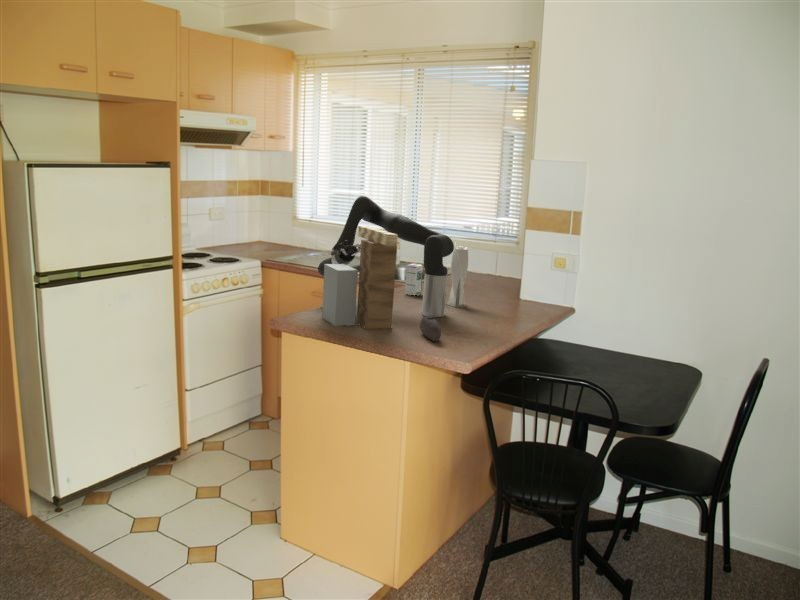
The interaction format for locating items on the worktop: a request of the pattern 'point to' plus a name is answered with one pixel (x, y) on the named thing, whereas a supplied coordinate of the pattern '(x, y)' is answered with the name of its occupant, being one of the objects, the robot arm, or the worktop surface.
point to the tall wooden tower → (376, 285)
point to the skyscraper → (458, 276)
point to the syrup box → (414, 279)
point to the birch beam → (378, 235)
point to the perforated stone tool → (430, 328)
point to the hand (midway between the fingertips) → (356, 242)
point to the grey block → (339, 294)
